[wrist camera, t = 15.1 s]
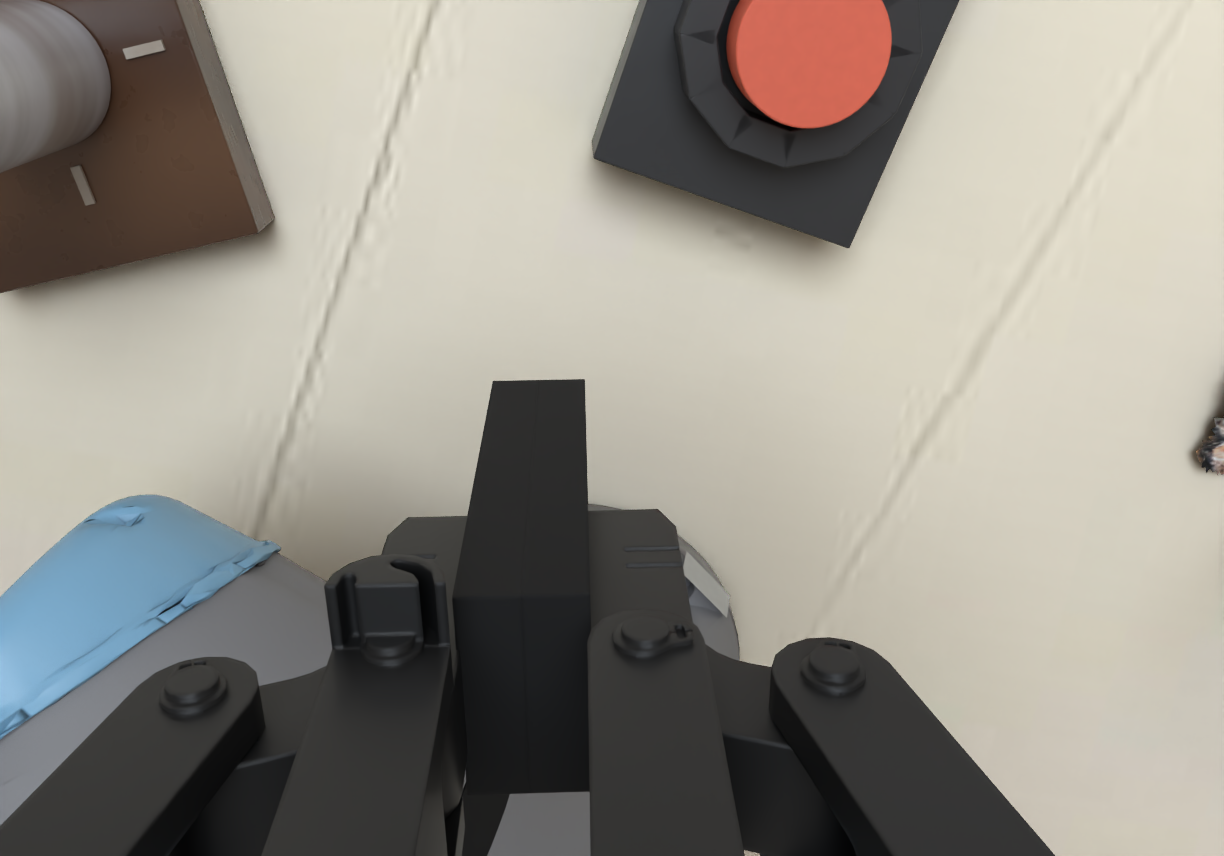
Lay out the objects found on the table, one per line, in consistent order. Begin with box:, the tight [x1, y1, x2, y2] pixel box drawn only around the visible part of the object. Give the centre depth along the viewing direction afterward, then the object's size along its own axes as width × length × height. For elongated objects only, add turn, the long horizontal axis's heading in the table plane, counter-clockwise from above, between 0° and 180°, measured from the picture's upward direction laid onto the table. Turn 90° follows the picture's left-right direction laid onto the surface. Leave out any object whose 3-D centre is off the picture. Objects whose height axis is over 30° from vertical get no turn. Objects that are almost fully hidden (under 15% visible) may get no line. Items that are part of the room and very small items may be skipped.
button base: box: [592, 0, 959, 248], centre depth 38 cm, size 12×10×6 cm
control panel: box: [0, 0, 274, 293], centre depth 39 cm, size 14×11×3 cm
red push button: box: [726, 0, 892, 128], centre depth 34 cm, size 5×5×2 cm
